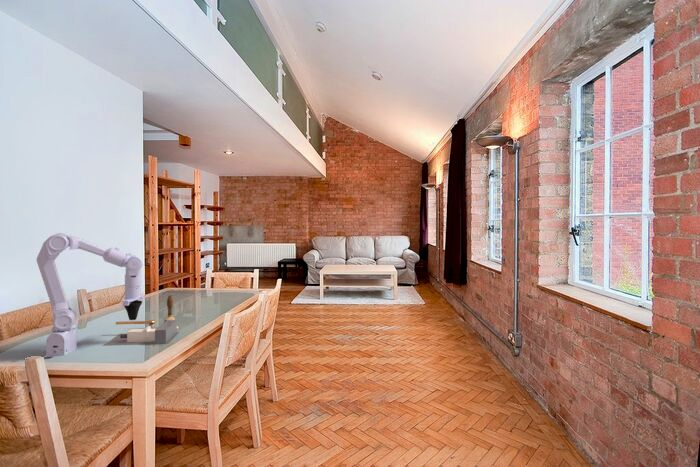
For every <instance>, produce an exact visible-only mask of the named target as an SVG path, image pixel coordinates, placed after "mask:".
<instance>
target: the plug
mask: <svg viewBox="0 0 700 467" xmlns="http://www.w3.org/2000/svg"><path fill="white" fill-rule="evenodd" d="M156 329H157V328H154V329H151V326H146V327H145V328H131V329H130V330H128V331H127V332H126V333H120V334H121V336H120V338H127V343H128V342H155V330H156Z"/></svg>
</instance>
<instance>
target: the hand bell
mask: <svg viewBox="0 0 700 467" xmlns="http://www.w3.org/2000/svg"><path fill="white" fill-rule="evenodd" d="M166 305H167V306H166V307H167V317H165V318H164V321H163V323H165V322H166V321H167V320H176V318H175V317H174V316H173V307H174V306H173V305H174V299H173V296H172V294H169V295H168V296H167V300H166ZM178 329H179V326H178V325H177V330H178Z"/></svg>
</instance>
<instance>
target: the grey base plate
mask: <svg viewBox="0 0 700 467" xmlns="http://www.w3.org/2000/svg"><path fill="white" fill-rule="evenodd" d="M148 325H149V326H151V329H156V330H155V342H128V343H127V338H120V336H121V334H122V333H119V334H117V335H115V337H113V338H111V339H110V340H108V341H107V342H105V343H104V344H103V345H102V347H104V346H106V347H107V346H109V347H110V346H138V345H139V346H140V345H167V344H170V343H171V342H172V341H173V340H174V339H175V338H176V337H177V335H179V334H180V332H179V331H178V329H177V326H178V320H176V319H175V320H167V321H166V322H165V323H164V322H163V323H162V324H161V325H160V326H158V327H157V328H155V323H154V324H148Z"/></svg>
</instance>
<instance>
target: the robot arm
mask: <svg viewBox="0 0 700 467" xmlns="http://www.w3.org/2000/svg"><path fill="white" fill-rule="evenodd" d="M68 247H69V250H71V251H72V250H82V251H86V252H89V253H91V254H93V255H97V256H100V257H102V259H103V261H104V262H106V263H110V264H111V265H114V266H117V267H120V268H125V275H124V297H123V300H122V306H123V307H124V308H125V311H126V313H127V316H128V319H129V320H128V321H137V317H138V315H139V312H140V308H141V305H142V304H143V299H145V296H143V293H142V274H141V273H142V267H143V262H142V261H141V259H140V257H138V256H136V255H132V253H130V252H129V253H127V252H125V251H121V250H120V248H118V247H115V248H114V247H110V248H107V249H106V248H104V247H102V246H99V245H97V244H94V243H92V242H90V241H87V240H84V239H83V238H80V237H76V236H74V235H73V236H72V235H67V234H65V233H59V232H58V233H55V234H53V235H51V236H49V237H48V238H47V239H46V240H45V241H44V242H43V243H42V246H41V248H40V250H39V252H38V255H37V257H36V263H37V266H38V270H39V272H40V275H41V278H42V282H43V285H44V287H45V290H46V293H47V297H48V299H49V302H50V305H51V311H52V312H51V313H52V316H53V317H52V318H53V319H52V326H53V327H52V329H51V333H50V334H49V335H48V337H47V338H46V340H45V345H46V346H45V348H46V350H45V351H46V353H45V355H43V358H53V357H56V356H57V357H58V356H59V357H60V356H66V355H67V354H69V353H71V352H74V351H76V350H77V337H78V335H77V330H78V329H77V325H76V324H75V319H76V312H75V310H73V308H71V305H70V303H69V301H68V299H67V295H66V293H65V290H64V287H63V283H62V281H61V278H60V274H59V271H58V269H57V268H58V267H57V266H56V261H55V260H56V259H57V258H58V257H59V256H60V253H62V252H64V251H65V250H66V249H67V248H68Z"/></svg>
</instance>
